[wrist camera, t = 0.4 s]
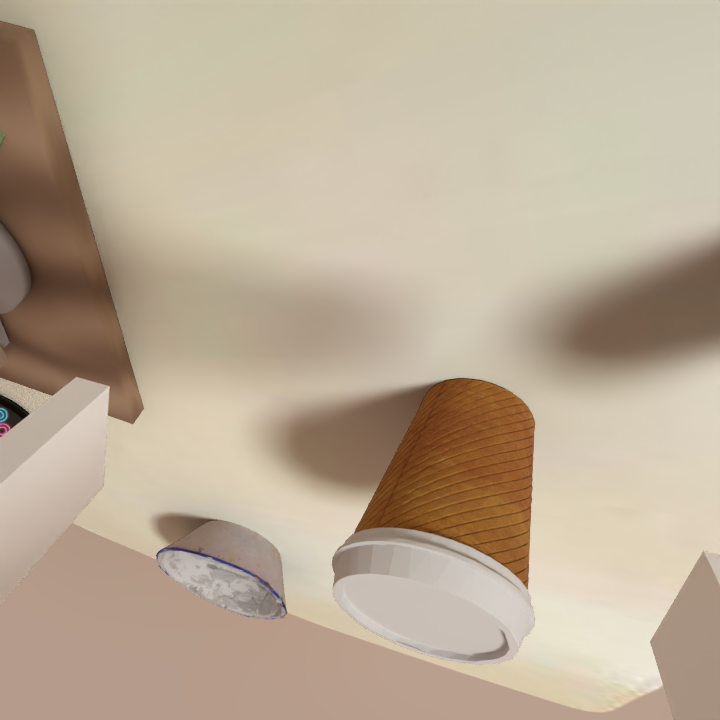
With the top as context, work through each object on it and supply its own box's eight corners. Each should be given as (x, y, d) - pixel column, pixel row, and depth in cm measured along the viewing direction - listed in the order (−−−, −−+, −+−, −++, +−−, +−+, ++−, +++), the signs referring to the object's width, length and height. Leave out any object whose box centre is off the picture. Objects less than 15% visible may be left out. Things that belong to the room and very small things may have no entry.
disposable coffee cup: (570, 474, 38) (539, 687, 31) (415, 456, 42) (354, 640, 35) (560, 361, 32) (517, 595, 24) (378, 352, 36) (294, 551, 28)
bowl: (246, 502, 56) (220, 553, 53) (330, 577, 63) (311, 627, 60) (154, 506, 64) (128, 552, 61) (238, 573, 70) (218, 617, 68)
